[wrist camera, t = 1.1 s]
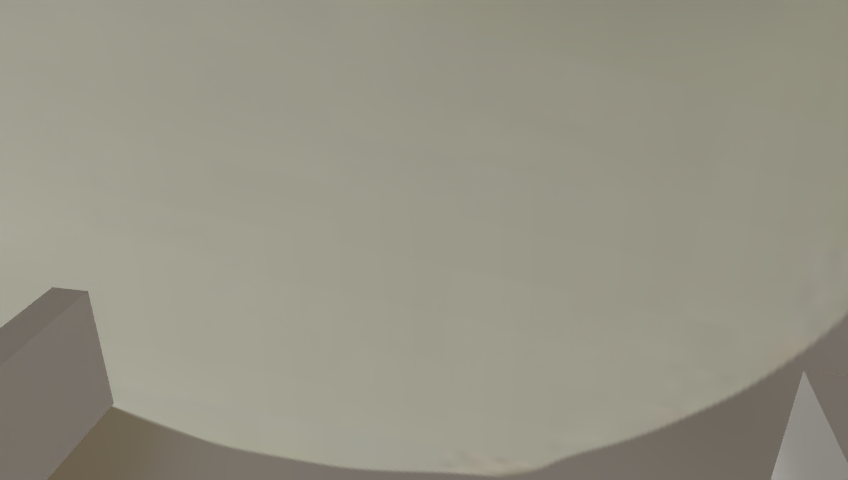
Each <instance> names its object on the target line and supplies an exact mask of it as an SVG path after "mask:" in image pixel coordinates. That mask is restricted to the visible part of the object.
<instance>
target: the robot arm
mask: <svg viewBox="0 0 848 480" xmlns="http://www.w3.org/2000/svg"><path fill="white" fill-rule="evenodd" d="M113 403H114V402H113V398H112V394H111V389H110V385H109V381H108V376H107V372H106V368H105V363H104V359H103V355H102V350H101V346H100V342H99V337H98V333H97V329H96V324H95V320H94V316H93V311H92V307H91V303H90V298H89V294H88V291H80V290H71V289H62V288H53V287H52V288H51V289H50V290H49V291H47V292H46V293H45V294H43V295H42V296H41V297H40V298H38V299H37V300H36V301H35V302H33V303H32V304H31V305H29V306H28V307H27V308H26V309H24V310H23V311H22V312H21V313H19V314H18V315H17V316H15V317H14V318H13V319H12V320H10V321H9V322H8V323H6V324H5V325H4V326H3V327H1V328H0V480H47V478H49V476H50V475H51V474H52V473H53V472H54V471H55V469H56V468H57V467H58V466H59V465H60V464H61V463H62V461H63V460H64V459H65V458H66V457H67V456H68V455H69V454H70V452H71V451H72V450H73V449H74V448H75V447H76V445H77V444H78V443H79V442H80V441H81V440H82V438H84V436H85V435H86V434H87V433H88V432H89V431H90V430H91V428H92V427H93V426H94V425H95V424H96V423H97V422H98V420H99V419H100V418H101V417H102V416H103V415H104V413H105V412H106V411H107V410H108V409H109V408H110V407H111V406H112V404H113ZM771 480H848V376H847V375H839V374H829V373H821V372H820V373H819V372H811V371H804V372H803V375H802V379H801V382H800V385H799V389H798V392H797V395H796V398H795V402H794V405H793V408H792V411H791V415H790V418H789V422H788V425H787V428H786V431H785V435H784V438H783V441H782V445H781V448H780V451H779V454H778V458H777V461H776V464H775V468H774V471H773V474H772V478H771Z"/></svg>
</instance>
